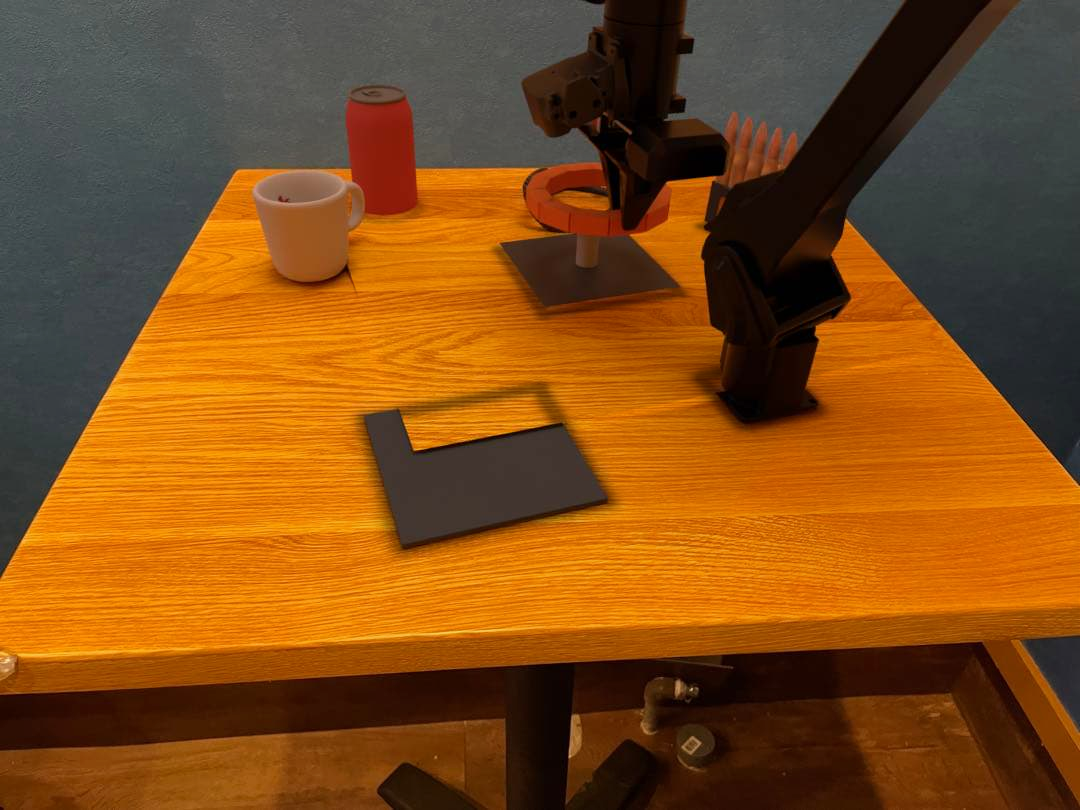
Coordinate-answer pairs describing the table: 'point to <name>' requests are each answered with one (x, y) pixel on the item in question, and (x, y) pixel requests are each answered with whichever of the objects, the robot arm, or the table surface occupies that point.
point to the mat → (478, 479)
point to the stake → (586, 267)
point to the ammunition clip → (748, 160)
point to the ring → (582, 218)
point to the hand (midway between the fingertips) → (623, 224)
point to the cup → (308, 221)
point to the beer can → (382, 148)
